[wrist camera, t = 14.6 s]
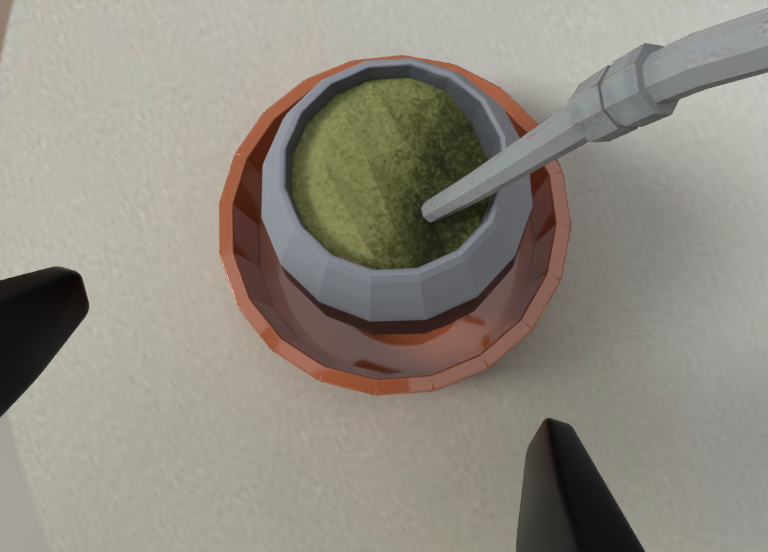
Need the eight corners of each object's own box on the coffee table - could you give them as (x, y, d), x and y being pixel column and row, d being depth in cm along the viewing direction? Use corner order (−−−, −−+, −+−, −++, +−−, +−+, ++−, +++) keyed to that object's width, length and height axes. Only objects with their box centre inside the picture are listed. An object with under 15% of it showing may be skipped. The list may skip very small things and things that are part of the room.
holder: (215, 346, 18) (174, 343, 15) (294, 82, 20) (272, 30, 17) (510, 422, 17) (532, 436, 14) (566, 134, 19) (596, 89, 16)
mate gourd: (283, 207, 18) (-224, -397, 4) (464, 127, 19) (663, -756, 4) (357, 383, 17) (16, 535, 2) (552, 295, 17) (1383, -83, 2)
